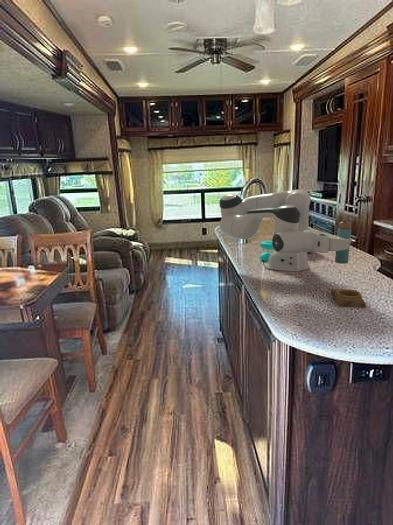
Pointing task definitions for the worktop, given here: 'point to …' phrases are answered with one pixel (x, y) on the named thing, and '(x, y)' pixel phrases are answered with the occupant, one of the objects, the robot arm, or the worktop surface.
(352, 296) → the base
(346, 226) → the pepper mill
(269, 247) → the donuts
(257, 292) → the worktop surface
